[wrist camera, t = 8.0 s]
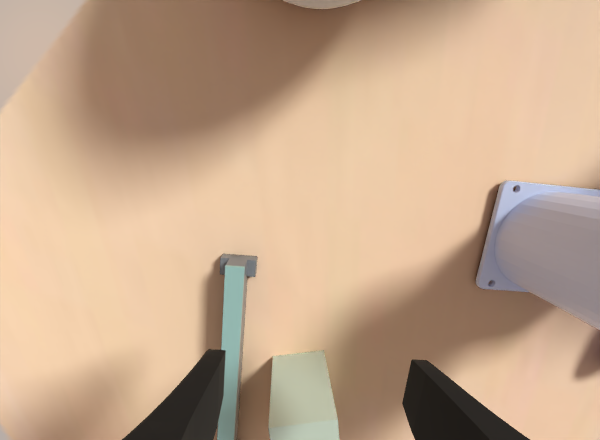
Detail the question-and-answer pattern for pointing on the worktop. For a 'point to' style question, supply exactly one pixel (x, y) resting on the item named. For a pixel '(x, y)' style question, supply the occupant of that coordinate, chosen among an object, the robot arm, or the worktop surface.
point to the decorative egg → (321, 3)
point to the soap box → (302, 398)
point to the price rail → (233, 337)
